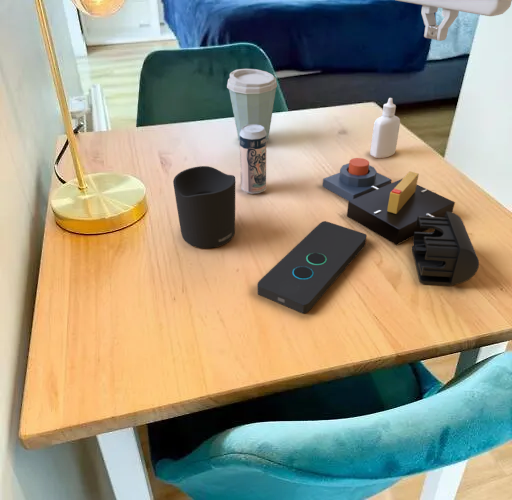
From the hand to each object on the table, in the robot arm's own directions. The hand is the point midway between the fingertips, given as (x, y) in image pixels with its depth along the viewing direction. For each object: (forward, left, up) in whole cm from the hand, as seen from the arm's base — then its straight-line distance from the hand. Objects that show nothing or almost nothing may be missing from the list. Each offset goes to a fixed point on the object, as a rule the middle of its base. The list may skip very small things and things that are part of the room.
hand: (434, 38), depth 78 cm
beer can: (+22, -18, -27) cm, 39 cm away
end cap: (+14, +18, -27) cm, 36 cm away
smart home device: (+29, +7, -27) cm, 40 cm away
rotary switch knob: (+8, +5, -24) cm, 26 cm away
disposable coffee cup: (+9, -36, -27) cm, 46 cm away
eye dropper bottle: (-9, -14, -27) cm, 32 cm away
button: (+6, -7, -24) cm, 25 cm away
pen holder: (+37, -10, -27) cm, 47 cm away
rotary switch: (+8, +5, -27) cm, 29 cm away
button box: (+6, -7, -27) cm, 28 cm away
